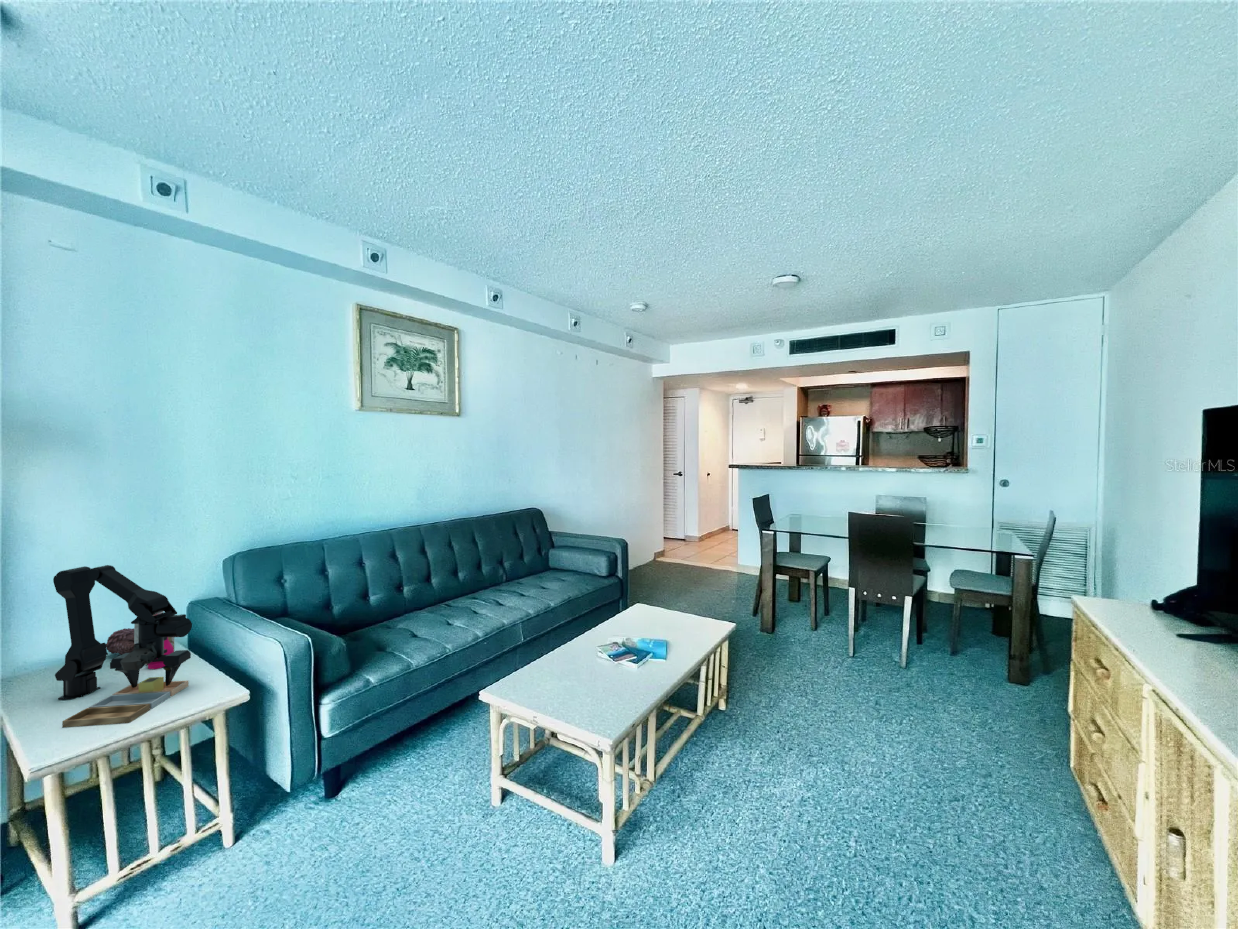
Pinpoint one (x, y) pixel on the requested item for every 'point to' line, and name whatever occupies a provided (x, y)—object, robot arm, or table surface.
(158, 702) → the tray
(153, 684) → the letter cube
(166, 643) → the pepper mill
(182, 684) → the tray
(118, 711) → the tray
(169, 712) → the table surface
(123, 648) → the pine cone
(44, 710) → the table surface
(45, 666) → the table surface
